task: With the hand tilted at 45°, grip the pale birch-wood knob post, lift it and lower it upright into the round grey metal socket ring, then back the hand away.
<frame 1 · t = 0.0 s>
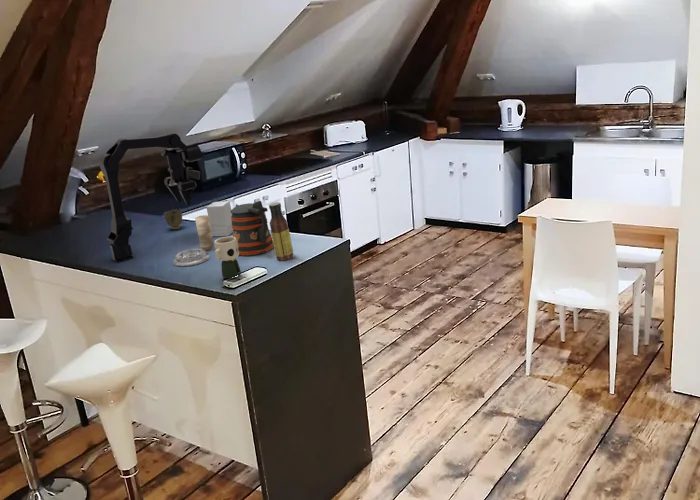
hand: (184, 203, 273), 15 cm above the countertop, tool pointing down, fingers open, 9 cm apart
beer stein: (258, 251, 252), on the countertop
sauce bottle: (284, 258, 240), on the countertop
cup: (176, 229, 294), on the countertop
knob post: (207, 248, 262), on the countertop
supplement box: (223, 234, 279), on the countertop
socket ring: (191, 260, 250), on the countertop
character mug: (232, 277, 228), on the countertop
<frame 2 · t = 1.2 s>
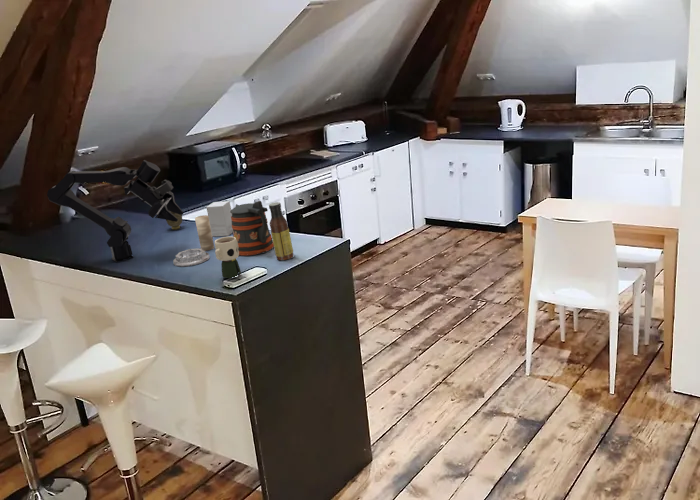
hand: (180, 217, 258), 13 cm above the countertop, tool tilted 45°, fingers open, 9 cm apart
nothing on the countertop moved.
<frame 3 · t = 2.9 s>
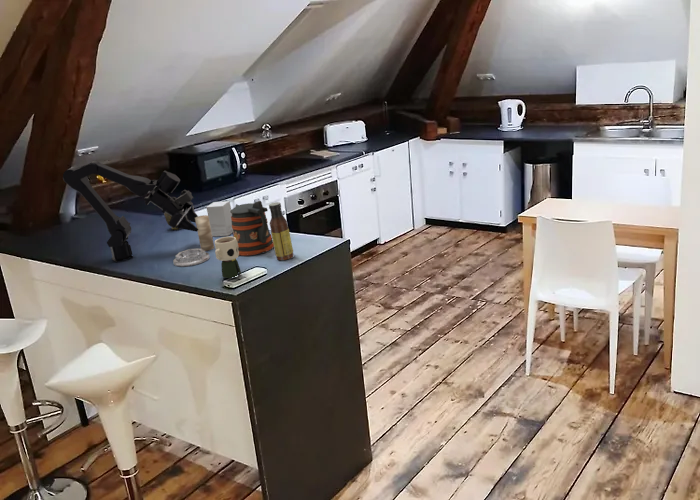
hand: (200, 226, 259), 9 cm above the countertop, tool tilted 45°, fingers open, 9 cm apart
nothing on the countertop moved.
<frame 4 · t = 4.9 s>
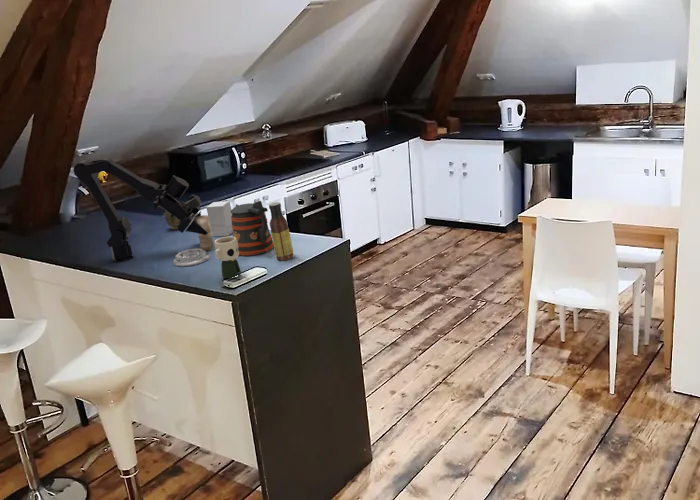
hand: (208, 231, 259), 7 cm above the countertop, tool tilted 45°, fingers closed on knob post, 5 cm apart
knob post: (207, 248, 262), on the countertop, touching gripper
everything else where it was.
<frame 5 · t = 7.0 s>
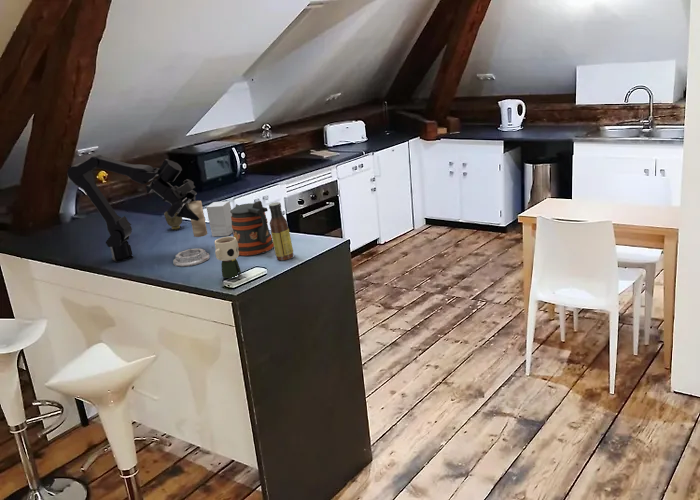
hand: (200, 217, 253), 13 cm above the countertop, tool tilted 45°, fingers closed on knob post, 5 cm apart
knob post: (200, 234, 256), point 7 cm above the countertop, touching gripper
everything else where it was.
when the fingers open (8 cm above the countertop, at t = 9.3 s): knob post stays where it is, resting on socket ring.
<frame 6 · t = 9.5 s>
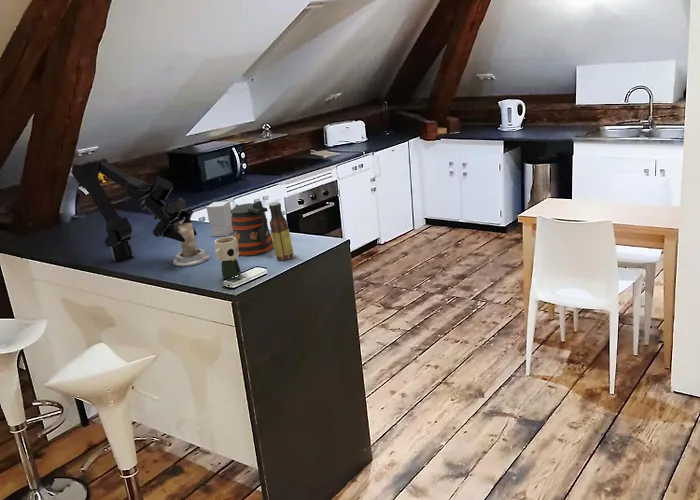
hand: (190, 238, 247), 9 cm above the countertop, tool tilted 45°, fingers open, 7 cm apart
knob post: (191, 257, 250), point 1 cm above the countertop, touching socket ring
everything else where it was.
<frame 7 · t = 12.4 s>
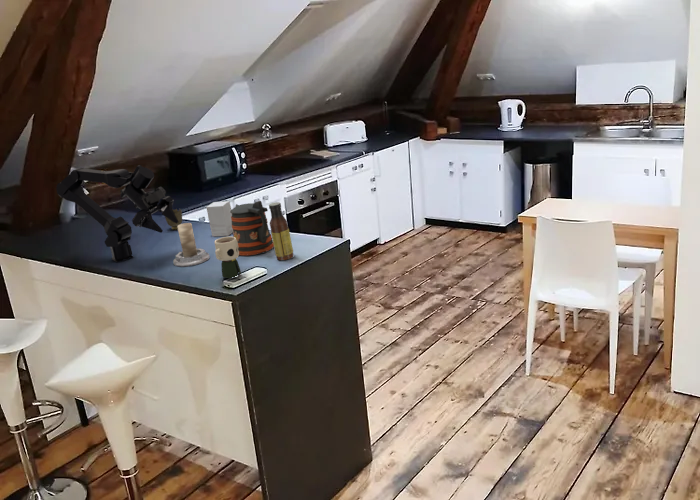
hand: (169, 227, 250), 12 cm above the countertop, tool tilted 40°, fingers open, 9 cm apart
nothing on the countertop moved.
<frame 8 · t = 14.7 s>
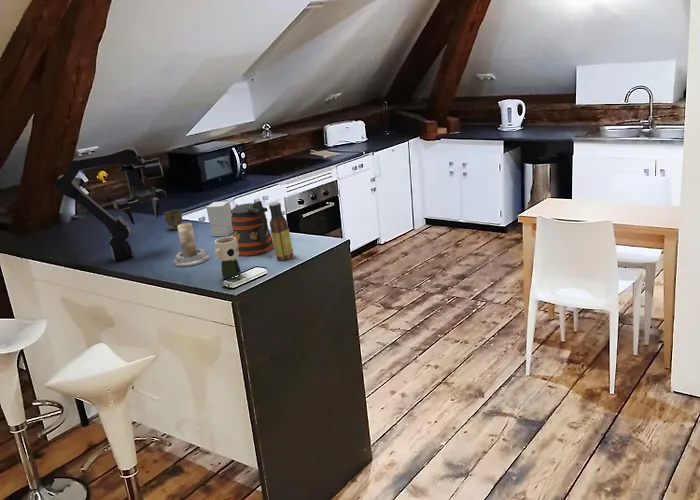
hand: (145, 220, 260), 13 cm above the countertop, tool pointing down, fingers open, 9 cm apart
nothing on the countertop moved.
at the end: knob post 0.1 cm off-centre on the socket ring, point 1.0 cm above the socket ring's base; knob post tilted 0°; the gripper is holding nothing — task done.
